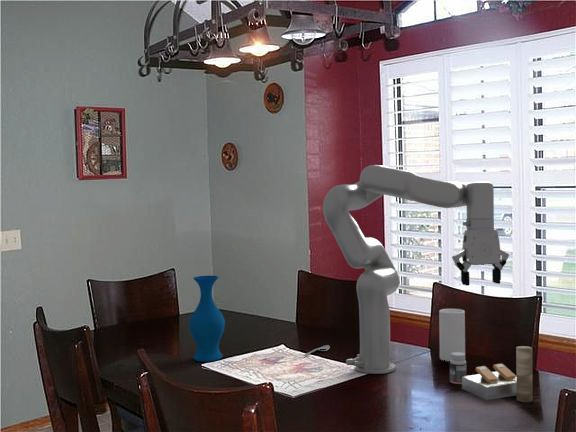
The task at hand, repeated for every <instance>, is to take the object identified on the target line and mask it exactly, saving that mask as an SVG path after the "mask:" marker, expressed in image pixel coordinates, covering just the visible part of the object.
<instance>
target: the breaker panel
mask: <svg viewBox="0 0 576 432" xmlns="http://www.w3.org/2000/svg"><path fill="white" fill-rule="evenodd" d="M491 372H492V373H493V374H494V375H495V376H496V377H497V378H498V381H497V382H490V383H488V382H487V381H486V380H485V379H484V378H483V377H482V376H481V375H480V374H479V373H477V374H472V375H471V374H470V375H466V376H462V384H461V390H464V391H466V392H468V393H470V394H473V395H475V396H477V397H479V398H482V399H484V400H486V401H491V400H497V399H502V398H508V397H514V396H517V375H516V377H515V379H510V380H506V379H505V378H504V377H502V376H501V375H500V374H499V373H498V372H497V371H496V370H495V371H491Z"/></svg>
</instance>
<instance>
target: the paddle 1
mask: <svg viewBox="0 0 576 432" xmlns="http://www.w3.org/2000/svg"><path fill="white" fill-rule="evenodd" d="M475 371H476V372H477V374H480V375H481V376H482V377H483V378H484V379H485V380H486V381H487V382H488V383H490V382H497V381H498V378H497V377H496V376H495V375H494V374H493V373H492V372H493V371H491V370H490V369H489V367H487V366H486V365H481V366H476V367H475Z"/></svg>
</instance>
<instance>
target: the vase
mask: <svg viewBox="0 0 576 432" xmlns="http://www.w3.org/2000/svg"><path fill="white" fill-rule="evenodd" d="M218 279H219V276H217V275H201V276H200V275H199V276H198V275H197V276H194V277H193V280H194V281H195V282H196V283H197V285H198V286H199V290H200V298H199V302H198V304H197V307H196V308H195V310H194V311H193V313H192V315H191V316H190V318H189V321H188V327H189V332H190V334H191V337H192V338H193V340H194V342H195V345H196V351H195V354H194V355H193V357H192V358H193V360H195V361H197V362H202V363H203V362H205V363H207V362H215V361H219V360H221V359H222V358H223V353H221V351H220V348H219V344H220V341H221V338H222V336H223V333H224V332H225V327H226V321H225V317H224V315H223V313H222V312H221V311H220V310H219V308H218V306H217V305H216V304H215V302H214V298H213V286H214V284H215V282H216V281H217V280H218Z"/></svg>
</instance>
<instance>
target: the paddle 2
mask: <svg viewBox="0 0 576 432" xmlns="http://www.w3.org/2000/svg"><path fill="white" fill-rule="evenodd" d="M492 368H493V369H494V370H495V372H496V371H497V372H498V373H499V374H500V375H501V376H502V377H504V378H505V379H506V380H510V379H515V377H516V376H517V374H515V373H514V372H512V370H511V369H509V368H508V367H507V366H506V365H505V364H504V363H496V364H493V366H492Z"/></svg>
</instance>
